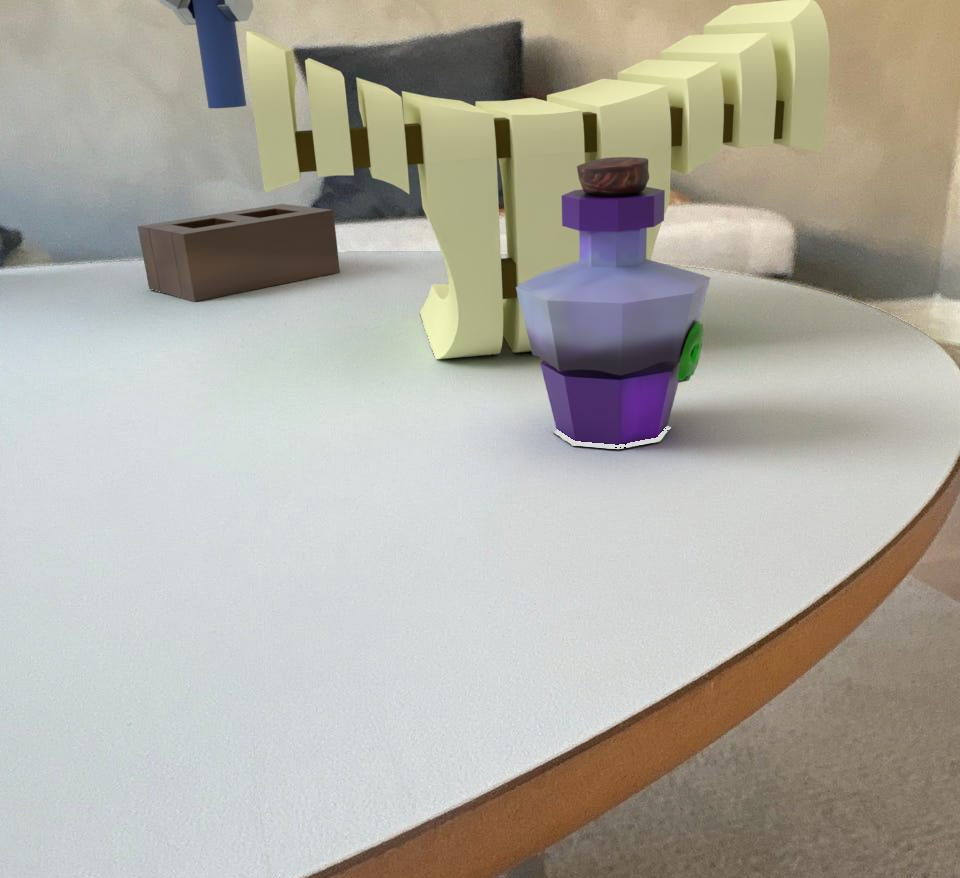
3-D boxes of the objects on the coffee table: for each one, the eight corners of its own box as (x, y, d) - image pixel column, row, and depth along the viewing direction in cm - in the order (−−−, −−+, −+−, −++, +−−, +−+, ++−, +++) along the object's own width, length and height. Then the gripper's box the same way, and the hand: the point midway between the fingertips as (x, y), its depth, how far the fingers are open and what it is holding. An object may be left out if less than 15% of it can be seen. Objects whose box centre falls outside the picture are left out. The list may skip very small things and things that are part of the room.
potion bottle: (720, 457, 47) (735, 163, 42) (523, 466, 48) (512, 175, 42) (689, 399, 55) (698, 144, 50) (519, 406, 55) (510, 154, 50)
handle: (201, 108, 82) (175, -63, 77) (234, 105, 83) (211, -62, 78) (220, 108, 80) (194, -67, 75) (253, 105, 81) (230, -66, 76)
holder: (149, 289, 89) (136, 226, 87) (290, 262, 97) (282, 203, 94) (194, 301, 83) (183, 234, 81) (340, 272, 91) (333, 209, 89)
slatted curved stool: (290, 387, 61) (242, 29, 53) (297, 323, 75) (260, 33, 67) (806, 342, 64) (836, -5, 55) (719, 288, 78) (732, 5, 70)
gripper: (243, -226, 63) (353, -30, 75) (-2, -178, 72) (131, -9, 84) (206, -143, 62) (324, 44, 74) (-40, -104, 71) (101, 57, 83)
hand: (219, 16), depth 79 cm, fingers closed on handle, 3 cm apart
